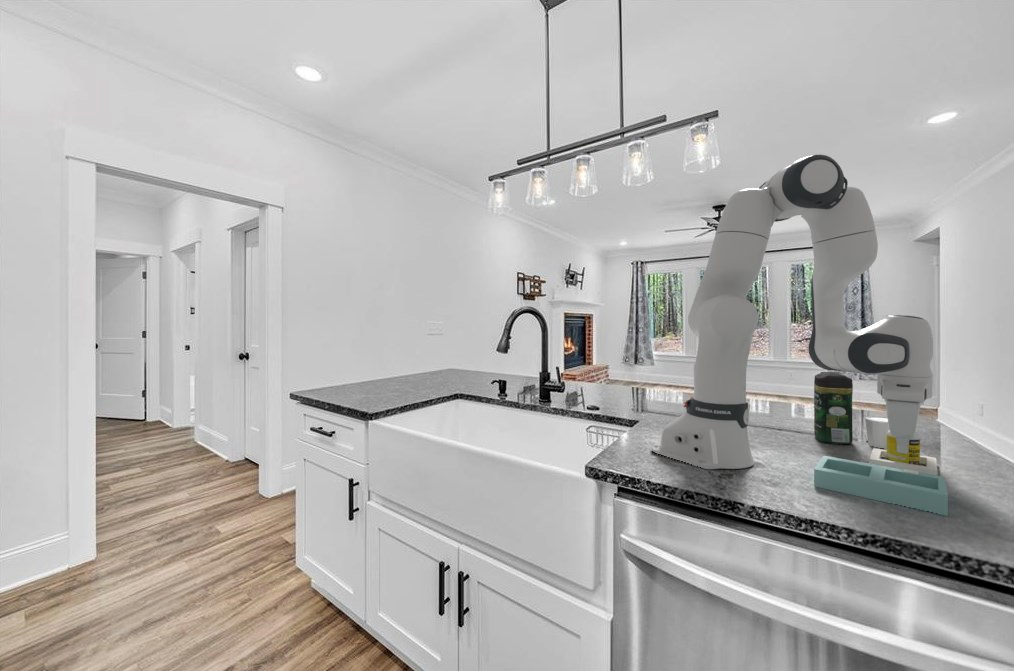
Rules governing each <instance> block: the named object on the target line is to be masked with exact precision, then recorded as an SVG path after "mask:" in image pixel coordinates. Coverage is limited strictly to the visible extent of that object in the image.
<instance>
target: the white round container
mask: <svg viewBox="0 0 1014 671" xmlns="http://www.w3.org/2000/svg"><path fill="white" fill-rule="evenodd" d="M865 427H866V434H867V442H868V444H869V445H868V446H870V445H871V446H870V447H872V446H874V447H873V448H876V447H878V448H877V449H880V448H884V449H883V450H887V432H888V430H889V424H888V417H886V416H885V417H884V416H866V417H865Z"/></svg>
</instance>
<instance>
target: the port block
mask: <svg viewBox="0 0 1014 671" xmlns="http://www.w3.org/2000/svg"><path fill="white" fill-rule="evenodd" d="M946 479H947V478H946V477H945V476H942V475H938V474H937V475H931V474H926V473H920V472H918V471H913V470H907V469H904V470H903V469H897V468H891V467H886V466H880V465H874V464H869V462H864V461H863V462H862V461H858V460H857V461H856V460H851V459H846V458H845V459H844V458H840V457H839V458H838V457H834V456H827V455H823V456H821V458H820V460H819V461H818V463H817V464H816V466H815V467H814V470H813V482H814V483H813V487H814V486H815V488H820V489H823V490H824V489H825V490H828V491H833V492H837V493H842V494H846V495H850V496H855V497H859V498H865V499H870V500H874V501H878V502H884V503H888V504H891V503H892V505H895V504H898V505H897V506H900V505H902V506H901V507H904V506H906V507H905V508H909V507H911V508H910V509H913V508H916V509H915V510H918V509H920V510H919V511H922V510H924V511H923V512H927V511H929V512H928V513H931V512H933V514H936V513H937V514H936V515H941V516H944V517H945V516H946V517H948V515H949V514H948V512H949V508H948V507H949V505H948V503H949V493H948V486H947V481H946Z"/></svg>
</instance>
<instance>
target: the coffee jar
mask: <svg viewBox="0 0 1014 671" xmlns="http://www.w3.org/2000/svg"><path fill="white" fill-rule="evenodd" d="M853 384H854V383H853V379H852V378H851V377H849V376H847V375H845V374H842V373H840V371H839V372H838V371H836V372H835V371H821V372H820V373H817V374H815V375H814V382H813V409H814V410H813V417H814V418H813V419H814V422H813V430H814V432H813V433H814V436H815V438H816V439H817V440H818V441H820V442H823V443H829V444H832V445H838V444H840V446H841V445H851V444H852V443H853V438H854V436H853V391H854V389H853V388H854V385H853Z"/></svg>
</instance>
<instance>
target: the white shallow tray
mask: <svg viewBox="0 0 1014 671" xmlns="http://www.w3.org/2000/svg"><path fill="white" fill-rule="evenodd" d="M872 448H873V449H872V451H871V454H870V456H869V462H868V463H869V464H874V465H880V466H886V467H891V468H897V469H903V470H904V469H907V470H913V471H918V472H920V473H926V474H931V475H937V476H938V465H937V464H938V463H937V457H933V456H927V455H921V454H920V465H914V464H908V463H902V462H896V461H890V460H886V451H887V449H880V448H876V447H872ZM883 458H884V459H883ZM924 465H925V466H924Z"/></svg>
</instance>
